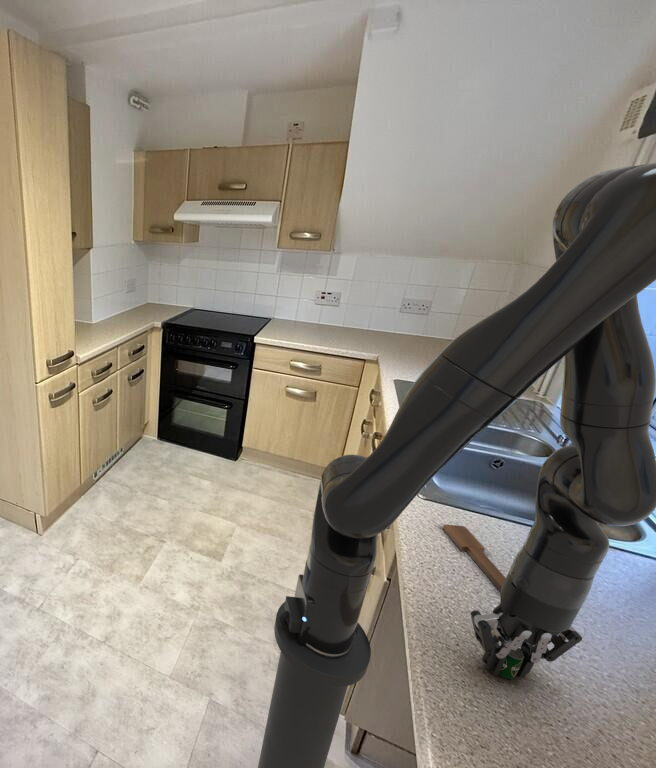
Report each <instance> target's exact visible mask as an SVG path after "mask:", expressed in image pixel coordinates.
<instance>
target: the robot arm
mask: <svg viewBox="0 0 656 768" xmlns="http://www.w3.org/2000/svg"><path fill="white" fill-rule="evenodd" d="M551 222H552V223H551V235H552V244H553V251H554V257H555V262H553V264H552V265H550V267H549V268H548V269H547V270H546V271H545V273H544V274H543V275H541V277H540V278H538V280H537V281H536V282H534V283H533V284H532V285H531V286H530V287H529V288H527V290H525V291H524V292H522V294H520V295H519V296H517V297H516V298H515V299H513V300H511V301H510V302H509V303H507V304H505V305H504V306H503V307H501V308H499V309H497V310H496V311H495V312H493V313H491V314H490V315H488V316H487V317H485V318H483V319H481V320H480V321H478V322H476V323H475V324H473V325H472V326H470V327H469V328H467V329H466V330H465V331H463V332H462V333H460V334H459V335H458V336H456V337H455V338H454V339H452V340H451V341H450V342H449V343H448V344H447V345H446V346H445V347H444V348H443V349H442V350H441V352H440V353H439V354H438V355H436V357H435V358H434V359H433V360H432V361H431V362H430V363H429V364H428V365H427V366H426V368H425V369H424V370H423V371H422V372H421V373H420V374H419V376H418V377H417V378H416V380H415V381H414V382H413V384H412V385H411V386H410V388H409V389H408V391H407V393H406V394H405V397H404V398H403V400H402V402H401V403H400V405H399V408H398V409H397V411H396V414H395V415H394V416H393V417H394V418H393V419H392V422H391V423H390V426H389V427H388V429H387V431H386V433H385V434H384V436H383V438H382V440H381V441H380V443H379V444H378V445H377V447H376V448H374V450H373V451H372V452H371V453H370V454H369V455H368V456H364V455H360V454H344V455H341V456H338V457H336V458H334V459H333V460H331V461H330V462H329V463H328V464H327V465H326V466H325V468H324V469H323V472H322V473H321V477H320V481H319V485H318V492H317V496H316V501H315V507H314V512H313V519H312V526H311V533H310V534H311V535H310V541H309V545H308V551H307V556H306V560H305V566H304V570H303V574H300V573H299V575H298V577H297V581H296V586H295V592H294V596H289V595H286V596H285V600H284V602H285V605H284V608H285V612H284V613H282V614H281V615H280V618H279V620H280V623H281V624H282V626H283V627H284V628H287V627H288V626H289V631H290V632H294V633H295V634H296V639H297V643H298V645H299V646H304V647H306V648H308V649H309V650H310V651H312V652H313V653H315V654H317V655H319V656H322V657H325V658H331V659H337V658H342V657H344V656H346V655H347V654H348V653H349V652H350V650H351V647H352V643H353V638H354V634H355V631H356V634H357V630H358V627H357V623H359V620H360V615H361V613H362V609H363V605H364V601H365V597H366V594H367V590H368V587H369V583H370V580H371V576H372V574H373V570H374V566H375V561H376V560H377V552H378V551H377V550H378V535H379V534H382V533H384V532H385V531H386V530H387V529H389V528H390V527H391V526H392V525H393V523H395V522H396V521H397V519H398V518H399V517H400V516H401V514H403V512H404V511H405V510H406V509H407V507H408V506H409V505H410V504H411V503H412V501H414V499H415V498H416V497H417V495H418V494H419V493H420V492H421V491H422V489H424V488H425V486H426V485H427V484H428V483H429V482H430V481H431V479H433V478H434V477H435V476H436V475H437V474H438V473H439V472H440V471H442V469H443V468H444V467H446V466H447V465H448V464H449V463H450V462H452V460H453V459H455V457H457V456H458V455H459V454H460V453H461V452H462V451H463V450H464V449H465V448H466V447H467V446H468V445H469V444H470V443H472V441H473V440H475V438H476V437H478V436H479V435H480V434H481V433H482V432H483V431H484V430H486V429H487V428H488V427H489V426H490V425H492V424H493V423H494V422H496V420H498V418H500V417H501V416H502V415H503V414H504V413H506V411H507V410H508V409H509V408H510V407H512V406H513V405H514V404H515V403H517V402H518V400H519V399H520V398H521V397H522V396H523V395H524V394H525V393H526V392H528V391H529V389H531V387H532V386H534V384H536V382H537V381H538V380H539V379H540V378H541V377H542V376H544V375H545V374H546V373H547V372H548V371H550V369H551V368H553V367H554V366H555V365H556V364H557V363H558V362H559V361H561V359H563V360H564V361H563V378H562V387H561V399H560V400H561V402H560V415H559V421H560V422H559V423H560V429H561V431H562V433H563V434H564V435H565V437H566V438H567V439H568V440H569V441H570V442H571V443H572V444H569V445H565V446H563V447H560V448H558V449H557V450H555V451H553V452H552V453H551V454H550V455H548V457H547V458H546V459H545V461H543V464H542V465H541V467H540V470H539V473H538V477H537V483H536V484H537V485H536V493H535V494H536V495H535V503H534V504H535V506H534V509H535V511H534V513H535V515H534V522H533V524H532V526H531V527H530V529H529V531H528V534H527V536H526V539H525V541H524V543H523V545H522V546H521V547H520V549H519V550H518V551H517V553H516V555H515V556H514V559H513V561H512V563H511V566H510V568H509V570H508V573H507V575H506V576H505V578H506V579H505V581H504V584H503V586H502V588H501V591H499V600H500V602H499V604H498V605H497V606H496V607H494V608H493V610H492V613H486V614H485V613H484V614H482V613H481V612H480V610H472V611H470V618H471V622H472V627H473V632H474V637H475V639H476V641H477V642H478V643H479V644H480V646H481V647H482V648H483V651H484V653H483V656H482V657H481V660H482V663H483V664H484V666H485V667H486V669H487V670H488V671H489V673H490V674H491V675H495V676H498V675H499V672H500V670H501V668H502V666H503V664H504V662H505V660H506V659H505V657H506V656H507V655H508V654H509V652H510V651H511V650H514V651H516V650H517V649H518V648H519V649H520V650H521V651H522V652H523V655H524V659H523V663H522V665H521V667H520V668H519V670H518V672H517V674H516V676H515V677H517V678H518V679H525V678H526V677H527V675H528V674H530V672H531V671H532V669H533V667H534V665H535V664H538V663H539V662H541V660H545V661H547V662H549V663H552V662H554V661H556V660H557V659H559V657H561V656H563V655H564V654H565V653H567V652H568V651H569V650H571V649H572V648H573V647H575V646H576V645H578V644H579V643H580V642H582V641H583V637H582V635H581V634H580V633H579V632H578V631H577V630H576V629H575V628H574V627H573V626H572V625H573V623H574V621H575V619H576V618H577V616H578V614H579V612H580V610H581V608H582V606H583V605H584V603H585V601H586V599H587V597H588V595H589V593H590V592H591V590H592V586H593V582H594V578H595V576H596V575H597V572H598V571H599V569H600V566H601V565H602V563H603V562H604V560H605V558H606V556H607V554H608V552H609V549H610V539H609V537H608V536H607V534H606V532H605V531H604V529H603V528H602V526H601V525H600V524H603V525H607V526H610V527H611V526H612V527H627V526H633V525H637V524H638V523H641V522H643V521H645V520H646V519H648V517H649V516H651V515H652V514H653V513H654V511H655V510H656V454H655V450H654V447H653V443H652V441H651V437H650V434H649V429H650V424H651V419H652V412H653V406H654V400H655V393H656V370H655V362H654V357H653V354H652V350H651V347H650V344H649V340H648V337H647V335H646V331H645V328H644V325H643V322H642V317H641V314H640V309H639V301H638V295H639V294H640V293H641V292H642V291H644V290H645V289H646V288H648V287H649V286H651V284H653V283H654V282H656V162H651V163H645V164H639V165H631V166H624V167H618V168H612V169H609V170H605V171H601V172H598V173H596V174H594V175H592V176H590V177H587V178H586V179H584V180H582V181H581V182H579V183H578V184H575V185H574V186H573V187H572V188H571V189H570V190H569V191H568V192H567V193H566V194H565V196H564V197H563V198H562V199H561V200H560V201H559V203H558V205H557V207H556V209H555V211H554V213H553V218H552V221H551ZM286 618H287V622H288V624H287V622H286V621H285V619H286ZM499 642H500V643H499ZM551 643H552V644H553V647H552V648H551V649H549V648H548V645H549V644H551Z"/></svg>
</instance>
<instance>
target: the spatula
mask: <svg viewBox="0 0 656 768" xmlns="http://www.w3.org/2000/svg"><path fill="white" fill-rule="evenodd" d="M442 529H443V531H444V532H445V533H446V534H447V536H448V537H449V538H450V539H451V541H452V542H453V543H454V544H455V546H456V547H457V548H458V549H459V551H461V552H466V553H467V554H468V555H469V557H470V558H471V559H472V560H473V561H474V562H475V564H476V565H477V566H478V567H479V569H480V570H481V571H482V572H483V573H484V574H485V576H486V577H487V578H488V579H489V581H490V582H491V583H492V585H494V586H495V588H496V589H497V590H498V592H500V591H501V588H502V586H503V584H504V581H505V579H506V576H505V575H504V574H503V573H502V572H501V571H500V569H498V567H497V566H496V565H495V564H494V563H493V562H492V561H491V559H489V557H488V556H487V555H486V554H485V553H484V551H485V549H486V548H485V547H484V546H483V545H482V544H481V542H479V540H478V539H477V538H476V537H475V535H473V534H472V532H470V530H469V529H468V528H467V527H466V526H465V525H455V524H443V526H442Z"/></svg>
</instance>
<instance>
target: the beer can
mask: <svg viewBox="0 0 656 768" xmlns="http://www.w3.org/2000/svg"><path fill="white" fill-rule="evenodd" d="M519 648H520V647H518V649H517V650H516V651H514V650H511V651H510V652H509V654H508V655H507V656H506V657H505V659H506V660H505V662H504V664H503V666H502V668H501V670H500V672H499V674H498V675H499V676H501V677H503V678H504V679H507V680H512V679H515V677H517V676H516V674H517V672H518V670H519V668H520V667H521V665H522V663H523V659H524V655H523V652H522V651H521V650H520V649H519Z"/></svg>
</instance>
